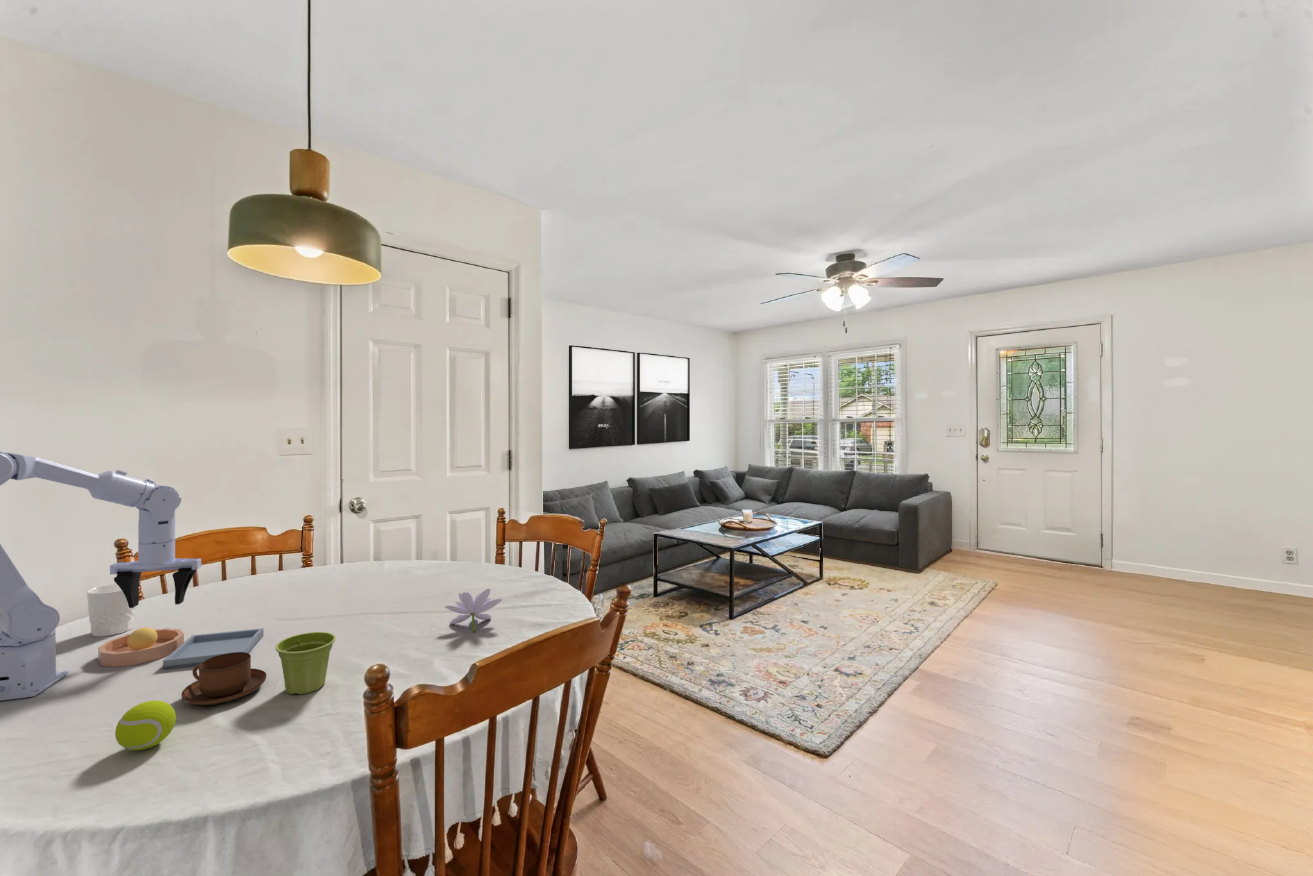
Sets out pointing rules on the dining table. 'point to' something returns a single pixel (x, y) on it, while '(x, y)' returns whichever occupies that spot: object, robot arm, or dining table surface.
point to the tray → (212, 647)
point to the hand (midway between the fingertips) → (156, 604)
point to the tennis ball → (145, 725)
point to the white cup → (109, 611)
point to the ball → (142, 638)
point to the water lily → (473, 607)
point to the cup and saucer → (223, 679)
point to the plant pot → (305, 660)
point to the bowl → (122, 655)
